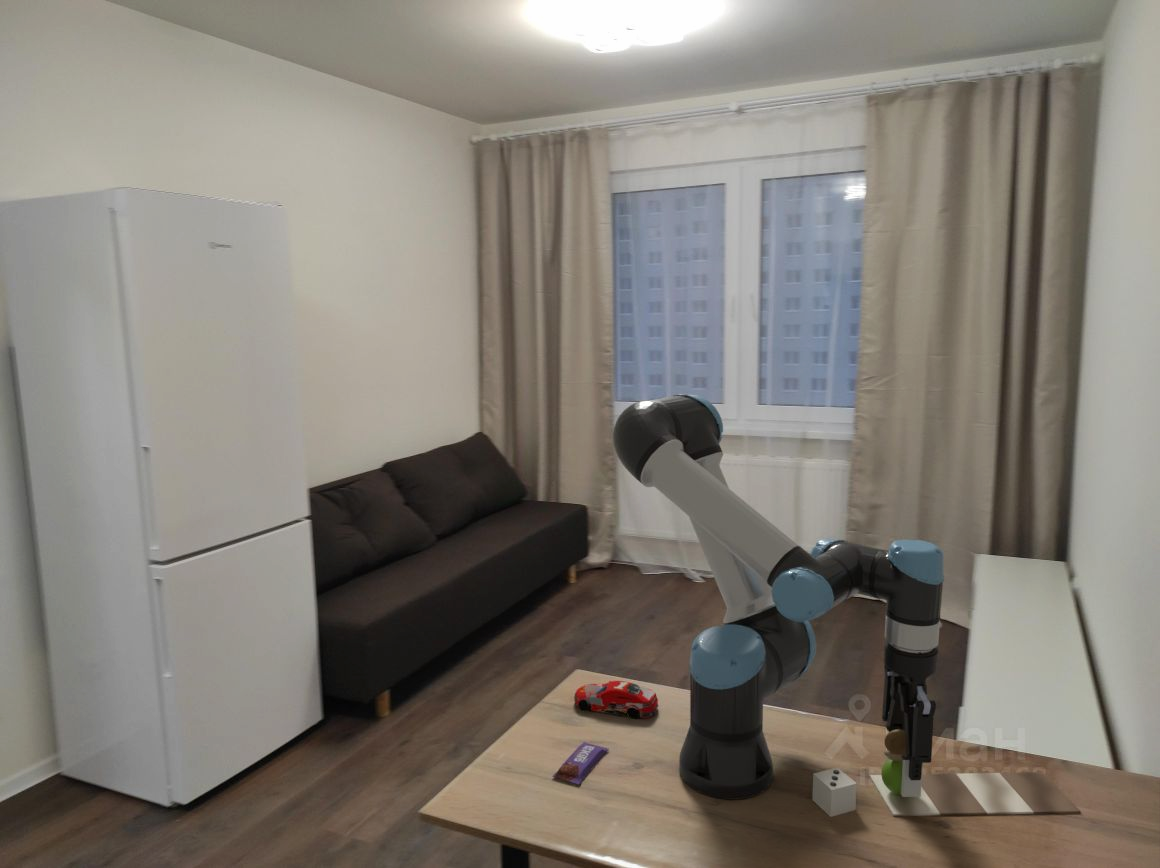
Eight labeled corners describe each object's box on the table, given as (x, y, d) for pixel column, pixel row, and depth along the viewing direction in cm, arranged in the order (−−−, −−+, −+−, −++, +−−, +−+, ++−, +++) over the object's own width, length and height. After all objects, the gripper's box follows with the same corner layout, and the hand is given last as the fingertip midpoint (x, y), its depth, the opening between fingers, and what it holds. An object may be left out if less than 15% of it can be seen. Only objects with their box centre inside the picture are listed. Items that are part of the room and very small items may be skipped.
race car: (569, 710, 153) (568, 686, 153) (581, 694, 160) (580, 671, 159) (651, 724, 148) (651, 699, 147) (660, 706, 154) (660, 682, 153)
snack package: (583, 736, 141) (609, 743, 139) (583, 747, 141) (609, 754, 139) (551, 771, 131) (579, 779, 129) (551, 782, 131) (579, 790, 129)
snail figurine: (928, 805, 122) (932, 732, 120) (883, 800, 123) (887, 728, 121) (920, 784, 127) (925, 713, 125) (877, 779, 128) (881, 710, 126)
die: (830, 817, 120) (831, 789, 120) (812, 800, 125) (813, 772, 124) (855, 810, 122) (856, 782, 121) (836, 793, 126) (837, 766, 125)
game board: (893, 816, 120) (893, 814, 120) (869, 776, 130) (869, 775, 130) (1080, 812, 120) (1080, 811, 120) (1042, 773, 130) (1042, 772, 130)
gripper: (965, 671, 112) (953, 821, 116) (911, 618, 130) (903, 749, 134) (911, 671, 112) (902, 821, 116) (864, 619, 130) (858, 750, 134)
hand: (902, 782), depth 125 cm, fingers closed on snail figurine, 5 cm apart
